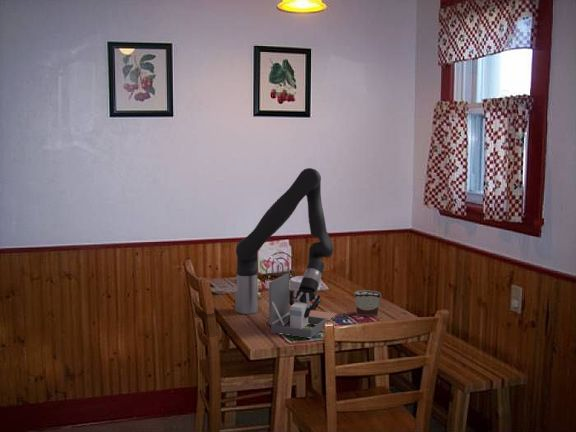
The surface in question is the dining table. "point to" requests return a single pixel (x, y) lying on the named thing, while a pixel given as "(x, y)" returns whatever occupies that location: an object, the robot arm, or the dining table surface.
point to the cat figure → (260, 287)
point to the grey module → (298, 315)
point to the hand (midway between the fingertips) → (299, 316)
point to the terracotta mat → (322, 314)
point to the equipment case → (287, 310)
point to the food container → (367, 302)
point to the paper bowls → (297, 283)
